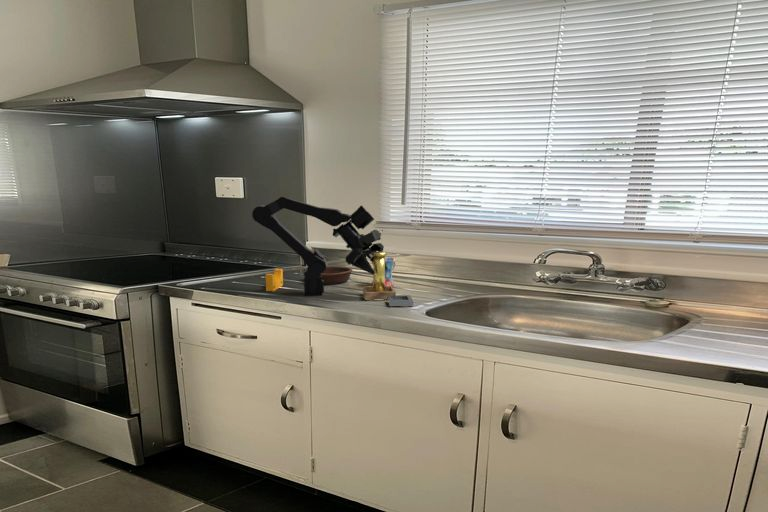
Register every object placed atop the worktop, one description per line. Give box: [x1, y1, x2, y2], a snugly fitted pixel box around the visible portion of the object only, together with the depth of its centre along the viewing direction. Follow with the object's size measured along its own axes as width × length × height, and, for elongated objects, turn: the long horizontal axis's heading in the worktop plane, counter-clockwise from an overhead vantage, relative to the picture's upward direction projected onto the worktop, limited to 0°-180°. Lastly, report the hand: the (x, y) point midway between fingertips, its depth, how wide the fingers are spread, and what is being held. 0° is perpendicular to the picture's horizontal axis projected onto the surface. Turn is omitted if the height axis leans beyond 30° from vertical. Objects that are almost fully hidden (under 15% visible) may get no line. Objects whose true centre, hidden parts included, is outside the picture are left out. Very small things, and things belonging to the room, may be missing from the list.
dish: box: [320, 266, 353, 285], centre depth 207 cm, size 18×22×5 cm
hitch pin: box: [372, 251, 388, 292], centre depth 179 cm, size 5×5×15 cm
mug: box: [370, 256, 396, 287], centre depth 198 cm, size 12×9×11 cm
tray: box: [362, 285, 397, 301], centre depth 180 cm, size 10×10×3 cm
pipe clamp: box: [265, 268, 284, 292], centre depth 194 cm, size 12×4×6 cm, turn 174°
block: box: [386, 294, 414, 307], centre depth 169 cm, size 8×8×2 cm
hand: (380, 271), depth 178 cm, fingers open, 9 cm apart
